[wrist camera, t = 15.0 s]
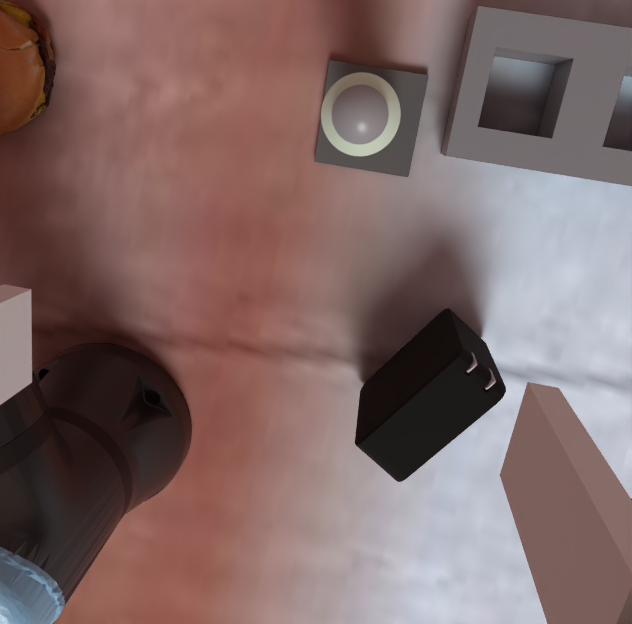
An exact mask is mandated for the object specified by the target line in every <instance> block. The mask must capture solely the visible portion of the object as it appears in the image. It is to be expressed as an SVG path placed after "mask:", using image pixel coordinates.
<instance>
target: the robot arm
mask: <svg viewBox="0 0 632 624" xmlns="http://www.w3.org/2000/svg"><path fill="white" fill-rule="evenodd" d="M190 442H191V420H190V415H189V411H188V408H187V405H186V402H185V400H184V398H183V396H182V394H181V392H180V391H179V389H178V387H177V386H176V384H175V383H174V382H173V380H172V379H171V378H170V377H169V376H168V375H167V374H166V373H165V372H164V371H163V370H162V369H161V368H160V367H159V366H158V365H156V364H155V363H154V362H152V361H151V360H150V359H148V358H146V357H145V356H143V355H141V354H139V353H137V352H135V351H133V350H130V349H128V348H125V347H121V346H117V345H113V344H105V343H89V344H83V345H78V346H75V347H72V348H69V349H67V350H65V351H63V352H61V353H59V354H58V355H56V356H55V357H53V358H52V359H51V360H49V361H48V362H46V363H45V364H44V365H42V366H41V367H40V368H39V369H38V370H37V371H36V372H35V373H34V372H33V369H32V314H31V289H27V288H22V287H16V286H11V285H6V284H3V285H1V286H0V624H52V623H53V622H54V621H55V620H56V619H57V618H58V617H59V615H60V613H61V612H62V609H63V607H64V606H65V604H66V603H67V601H68V600H69V598H70V597H71V595H72V594H73V592H74V591H75V589H76V588H77V586H78V584H79V583H80V581H81V580H82V578H83V577H84V575H85V574H86V572H87V571H88V569H89V568H90V566H91V565H92V563H93V562H94V560H95V558H96V557H97V555H98V554H99V552H100V551H101V549H102V548H103V546H104V545H105V543H106V542H107V540H108V539H109V537H110V535H111V534H112V532H113V531H114V529H115V528H116V526H117V524H118V523H119V521H120V520H121V519H122V517H123V516H124V515H125V514H126V513H128V512H129V511H131V510H132V509H134V508H135V507H137V506H138V505H139V504H141V503H142V502H144V501H146V500H148V499H150V498H151V497H153V496H155V495H156V494H158V493H159V492H160V491H162V490H163V489H164V488H165V487H166V486H167V485H168V484H169V483H170V482H171V480H172V479H173V478H174V476H175V475H176V473H177V472H178V470H179V468H180V467H181V465H182V463H183V462H184V460H185V458H186V456H187V453H188V450H189V447H190ZM500 477H501V480H502V483H503V486H504V489H505V492H506V495H507V499H508V502H509V505H510V508H511V511H512V514H513V517H514V520H515V524H516V527H517V530H518V533H519V536H520V539H521V542H522V545H523V549H524V552H525V555H526V558H527V561H528V564H529V567H530V570H531V574H532V577H533V580H534V583H535V586H536V589H537V592H538V595H539V599H540V602H541V605H542V608H543V611H544V614H545V617H546V620H547V624H632V499H631V498H630V497H629V495H628V494H627V492H626V491H625V489H624V488H623V486H622V484H621V483H620V481H619V480H618V478H617V477H616V475H615V474H614V472H613V471H612V469H611V468H610V466H609V465H608V463H607V461H606V460H605V458H604V457H603V455H602V454H601V452H600V451H599V449H598V448H597V446H596V445H595V443H594V442H593V440H592V438H591V437H590V435H589V434H588V432H587V431H586V429H585V428H584V426H583V425H582V423H581V422H580V420H579V419H578V417H577V415H576V414H575V412H574V411H573V409H572V408H571V406H570V405H569V403H568V402H567V400H566V399H565V397H564V396H563V394H562V392H561V391H560V389H559V388H556V387H551V386H545V385H540V384H535V383H529V382H528V383H527V386H526V390H525V393H524V396H523V400H522V403H521V406H520V410H519V413H518V416H517V420H516V423H515V427H514V430H513V433H512V437H511V440H510V443H509V447H508V450H507V453H506V457H505V460H504V463H503V467H502V470H501V473H500Z"/></svg>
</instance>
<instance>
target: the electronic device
mask: <svg viewBox="0 0 632 624" xmlns="http://www.w3.org/2000/svg"><path fill="white" fill-rule="evenodd" d="M505 392H506V387H505V385H504V383H503V380H502V378H501V376H500V374H499V371H498V369H497V367H496V365H495V363H494V360H493V358H492V356H491V354H490V351H489V349H488V347H487V345H486V343H485V342H484V341H483V340H482V339H481V338H480V337H479V336H478V335H477V334H476V333H475V332H474V331H472V330H471V329H470V328H469V327H468V326H467V325H466V324H465V323H464V322H463V321H462V320H461V319H460V318H459V317H458V316H457V315H456V314H454V313H453V312H452V311H451V310H450V309H448V308H447V309H445V310H444V311H442V312H441V313H440V314H439V315H438V316H436V317H435V318H434V319H433V320H432V321H431V322H430V323H429V324H428V325H427V326H426V327H425V328H424V329H422V330H421V331H420V332H419V333H418V334H417V335H416V336H415V337H414V338H413V339H412V340H411V341H410V342H408V343H407V344H406V345H405V346H404V347H403V348H402V349H401V350H400V351H399V352H398V353H397V354H396V355H394V356H393V357H392V358H391V359H390V360H389V361H388V362H387V363H386V364H385V365H384V366H383V367H382V368H380V369H379V370H378V371H377V372H376V373H375V374H374V375H373V376H372V377H371V378H370V379H369V380H368V381H367V382H366V383H365V384H364V385H363V387H362V389H361V391H360V400H359V409H358V418H357V428H356V437H355V444H356V446H358V447H359V448H360V449H361V450H362V451H363V452H364V453H366V454H367V455H368V456H369V457H370V458H371V459H372V460H374V461H375V462H376V463H377V464H378V465H379V466H380V467H381V468H383V469H384V470H385V471H386V472H387V473H388V474H389V475H391V476H392V477H393V478H394V479H395V480H396V481H397V482H401V481H403V480H405V479H406V478H408V477H409V476H410V475H411V474H412V473H414V472H415V471H416V470H417V469H418V468H420V467H421V466H422V465H423V464H424V463H426V462H427V461H428V460H429V459H430V458H432V457H433V456H434V455H435V454H437V453H438V452H439V451H440V450H441V449H443V448H444V447H445V446H446V445H447V444H449V443H450V442H451V441H452V440H453V439H455V438H456V437H457V436H458V435H459V434H461V433H462V432H463V431H464V430H465V429H467V428H468V427H469V426H470V425H472V424H473V423H474V422H475V421H476V420H478V419H479V418H480V417H481V416H482V415H484V414H485V413H486V412H487V411H488V410H490V409H491V408H492V407H493V406H494V405H496V404H497V403H498V402H499V401H500V400H501V399H502V398H503V396H504V394H505Z"/></svg>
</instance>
